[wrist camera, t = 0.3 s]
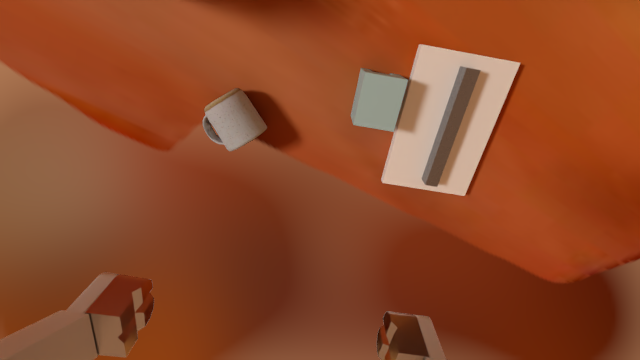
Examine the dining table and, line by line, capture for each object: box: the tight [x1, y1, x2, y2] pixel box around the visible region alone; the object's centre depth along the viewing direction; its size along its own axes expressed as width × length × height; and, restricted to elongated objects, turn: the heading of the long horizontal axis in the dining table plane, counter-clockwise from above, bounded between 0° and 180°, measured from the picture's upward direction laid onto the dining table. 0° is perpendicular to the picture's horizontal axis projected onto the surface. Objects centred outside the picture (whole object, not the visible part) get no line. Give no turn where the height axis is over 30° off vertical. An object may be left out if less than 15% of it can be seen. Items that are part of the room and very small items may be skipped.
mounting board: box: [381, 44, 520, 196], centre depth 54 cm, size 24×16×2 cm, turn 170°
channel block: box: [351, 68, 408, 132], centre depth 50 cm, size 8×6×6 cm
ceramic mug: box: [203, 88, 267, 151], centre depth 51 cm, size 11×8×8 cm
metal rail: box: [422, 66, 481, 187], centre depth 52 cm, size 20×2×2 cm, turn 170°
